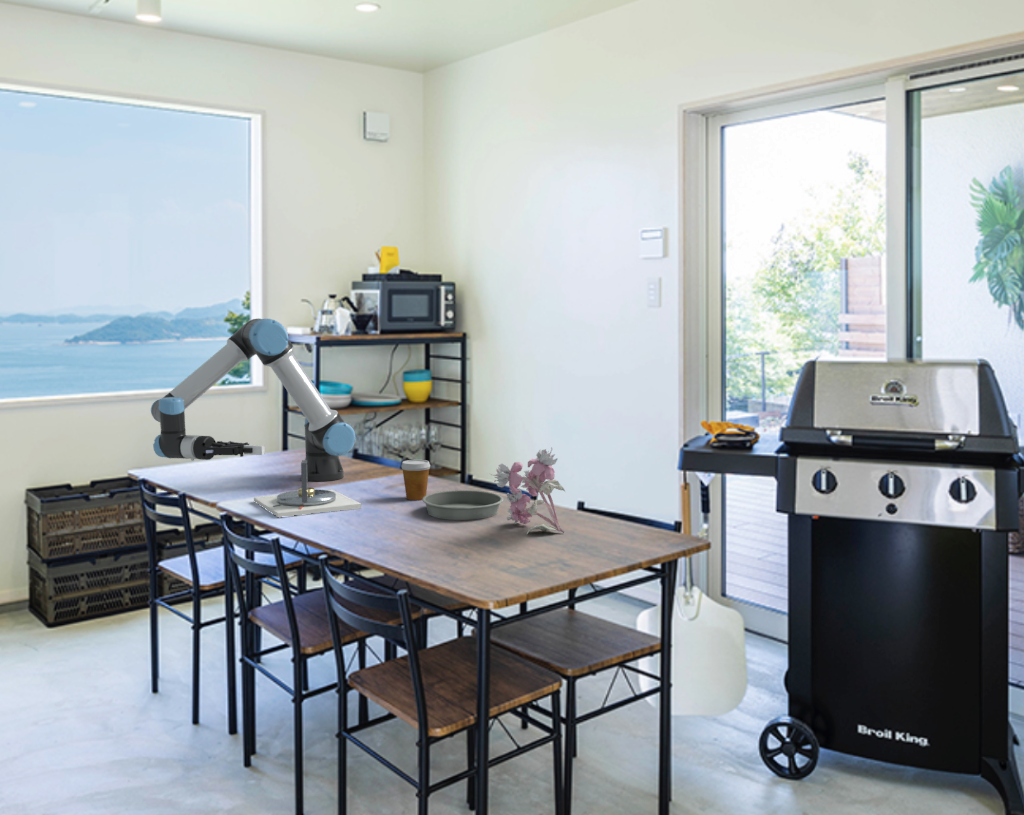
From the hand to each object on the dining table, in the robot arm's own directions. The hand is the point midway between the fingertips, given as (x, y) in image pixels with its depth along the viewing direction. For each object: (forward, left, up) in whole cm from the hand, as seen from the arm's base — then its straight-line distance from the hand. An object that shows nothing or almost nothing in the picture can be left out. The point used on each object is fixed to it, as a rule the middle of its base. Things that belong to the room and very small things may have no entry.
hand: (263, 450), depth 289 cm
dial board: (-12, +3, -18) cm, 22 cm away
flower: (-56, +64, -18) cm, 87 cm away
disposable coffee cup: (-46, +11, -18) cm, 51 cm away
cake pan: (-50, +36, -18) cm, 65 cm away
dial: (-12, +4, -16) cm, 21 cm away
